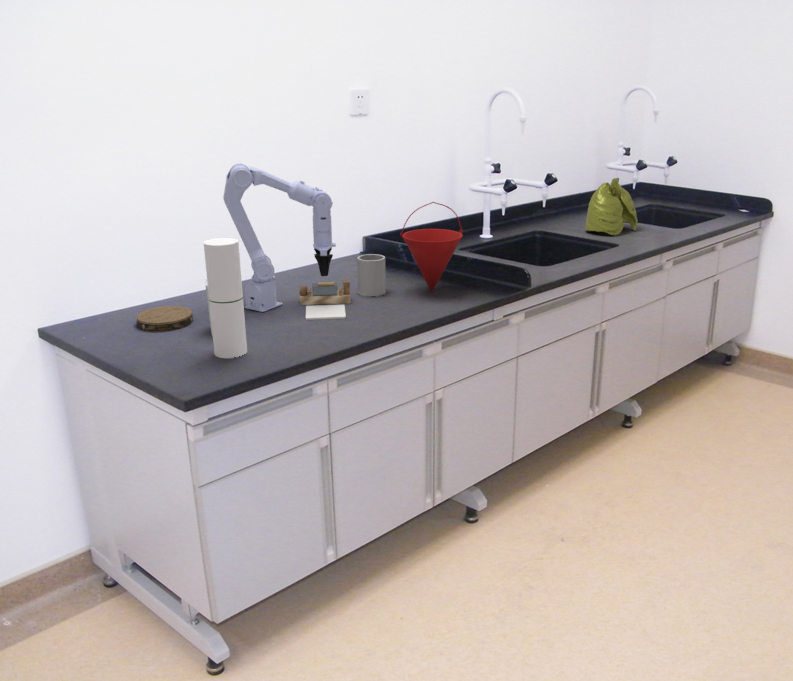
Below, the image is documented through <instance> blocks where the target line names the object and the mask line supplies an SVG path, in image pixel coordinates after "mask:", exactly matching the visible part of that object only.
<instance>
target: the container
mask: <svg viewBox="0 0 793 681" xmlns="http://www.w3.org/2000/svg"><path fill="white" fill-rule="evenodd" d="M203 249H204V250H203V251H204V261H205V270H206V271H205V272H206V279H207V283H208V293H209V303H210V314H211V324H212V334H213V335H212V340H213V341H212V344H213V352H214V356H215V357H217V358H221V359H235V358H234V357H236V358H239V356H240V357H242V355H243V356H245V355H246V354H247V353H248V346H247V345H248V344H247V331H246V320H245V308H244V307H245V306H244V296H243V295H244V293H243V283H242V270H241V259H240V258H241V256H240V245H239V240H238V239H236V238H232V237H217V238H210V239H207V240H204V241H203ZM244 354H245V355H244Z"/></svg>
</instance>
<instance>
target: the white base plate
mask: <svg viewBox="0 0 793 681" xmlns="http://www.w3.org/2000/svg"><path fill="white" fill-rule="evenodd" d="M341 319H342V320H345V319H347V316H346V307H345V304H317V305H305V320H306V321H312V320H313V321H314V320H317V321H318V320H341Z"/></svg>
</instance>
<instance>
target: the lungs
mask: <svg viewBox="0 0 793 681" xmlns="http://www.w3.org/2000/svg"><path fill="white" fill-rule="evenodd" d="M619 182H620V178H619V177H616V178H615V177H614V178H612V180H611V182H603V183H601V184H600V185H599V186H598V188H597V189H596V190H595V191H594V193H593V194H592V196H591V197H590V201H589V203H588V208H587V213H586V220H585V230H584V231H585V232H588V231H592V232H597V233H598V232H599V233H600V232H602V233H607V234H609V235H611V236H618V235H620V234H621V232H623V229H624V226H625V225H624V224H625V223H627V224H629V225H631V228H632V230H633V231H634V232H636V231H637V224H638V216H637V211H636V207H635V204H634V201H633V199H632V196H631V195H630V192H628V191H627V190H626V189H625V188H623V187H622V186H621V184H620V183H619Z"/></svg>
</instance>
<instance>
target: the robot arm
mask: <svg viewBox="0 0 793 681" xmlns="http://www.w3.org/2000/svg"><path fill="white" fill-rule="evenodd" d="M251 185H253V186H254V187H256V186H261V185H265V186H268V187H270V188H274V189H275V190H278V191H282V192H284V193H286V194H287V197H288V198H289V200H292V201H295V202H297V203H300V204H303V205H305V206H307V207H312V229H313V230H312V234H313V244H312V247H313V250H314V251H315V252H314V254H313V255H314V258H315V260H316V262H317V265H318V269H319V273H320V277H328V276H329V273H330V272H329V271H330V265H331V261H332V259H333V256H334V254H333V253H332V254H331V251H332V249H333V248H334V247H335V248H336V247H337V244H336V243H335V242H333V236H332V232H333V231H332V230H333V229H332V215H331V212H332V211H331V210H332V207H333V200H332V198H331V196H330V195H329V194H328V193H327V192H326V191H324V190H323V189H320V188H319V187H313V186H309V185H308V184H306V183H305V181H303V180H299V181H298V180H295V181H293V182H289V181H286V180H284V179H283V178H280V177H278V176H276V175H273V174H271V173H269V172H267V171H264V170H263V169H259V168H257V167H253V166H247V165H245V164H243V163H236V164H233V165H232V167H231V168H230V169H229V171H228V173H227V174H226V178H225V186H224V192H223V196H222V197H223V202H224V205H225V206H226V209H227V210H228V214H229V215H230V217H231V220H232V222H233V224H234V225H235V228H236V230H237V232H238V235H239V236H240V238H241V242H242V243H243V246H244V247H245V249H246V251H247V254H248V256H249V258H250V260H251V261H250V262H251V268H252V271H253V275H252V276H251V281H250V282H249V283H247V284H246V285H245V287H244V293H245V294H244V295H245V306H244V309H247V310H252V311H257V312H261V313H262V312H266V311H270V310H271V309H274V308H275V309H276V308H277V307H280V306H282V305H284V304H283V302H280V301H277V300H278V299H277V286H276V276H275V267H274V265H273V263H272V261H271V258H270V257H268V256H267V254H265V252H264V250H263V248H262V245H261V244H260V241H259V240H258V237H257V235H256V232H255V229H254V228H253V225H252V223H251V220H250V219H249V217H248V215H247V213H246V211H245V208H244V206H243V204H242V199H243V196H244V193H245V192H246V191H247V190H248V189H249V188H250V187H251Z"/></svg>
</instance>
